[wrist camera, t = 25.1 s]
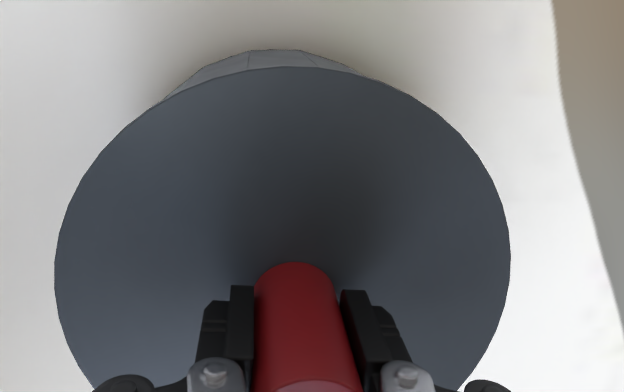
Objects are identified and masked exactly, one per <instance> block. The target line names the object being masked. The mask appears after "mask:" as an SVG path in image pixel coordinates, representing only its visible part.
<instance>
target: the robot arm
mask: <svg viewBox="0 0 624 392" xmlns="http://www.w3.org/2000/svg"><path fill="white" fill-rule="evenodd" d="M339 307H340V311H341V314H342V318H343V321H344V325H345V328H346V332H347V335H348V339H349V342H350V346H351V349H352V353H353V356H354V360H355V363H356V367H357V370H358V374H359V377H360V381H361V385H362V388H363V392H459V391H455V390H450V389H446V388H443V387H440V386H437V385H435V384H433V380H432V378H431V376H430V374H429V373H428V372H427V371H426V370H425V369H424V368H422V367H421V366H419V365H417V364H415V363H413V361H412V359H411V357H410V355H409V353H408V350H407V348H406V346H405V344H404V341H403V339H402V337H400V333H399V330H398V328H396V324H395V321H394V319H393V317H392V315H391V314H390V313H389V312H387V311H386V310H385V309H384V308H383V307H382V306H372V305H371V302H370V300H369V297H368V295H367V292H366V291H365V290H352V289H342V291H341V294H340V301H339ZM253 359H254V286H249V285H231V290H230V301H220V300H212V301H211V303H210V304H209V305H208V306H207V307H206V308H205V309H204V313H203V318H202V324H201V330H200V335H199V341H198V347H197V352H196V358H195V364H193V365H192V366H191V367H190V369H189V370H188V373H187V376H186V377H184V378H183V379H181V380H179V381H177V382H175V383H172V384H169V385H165V386H161V387H156V388H154V385H153V383H152V382H151V381H150V380H149V379H147V378H145V377H143V376H140V375H135V374H126V375H119V376H116V377H113V378H110V379H108V380H106V381H105V382H103V383H102V384H100V385H99V386H98V387H97V388H96V389H95V390H93V391H92V392H250V388H251V385H252V372H253ZM464 392H511V391H510V390H508V389H507V388H505V387H504V386H502V385H500V384H498V383H495V382H492V381H488V380H474V381H471V382H469V383H468V384H467V385H466V386H465V389H464Z"/></svg>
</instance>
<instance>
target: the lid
mask: <svg viewBox="0 0 624 392" xmlns="http://www.w3.org/2000/svg"><path fill="white" fill-rule="evenodd" d="M510 261H511V253H510V242H509V231H508V226H507V222H506V218H505V214H504V210H503V205H502V203H501V200H500V198H499V195H498V193H497V190H496V188H495V185H494V183H493V180H492V178H491V177H490V175H489V173H488V172H487V170H486V168H485V167H484V165H483V163H482V162H481V160H480V158H479V157H478V155H477V154H476V153H475V152H474V150H473V149H472V148H471V147H470V145H469V144H468V143H467V142H466V141H465V139H464V138H463V137H462V136H461V135H460V133H459V132H457V131H456V130H455V129H454V128H453V127H452V126H451V125H450V124H449V123H447V122H446V121H445V120H444V119H443V118H442V117H441V116H440V115H439V114H437V113H436V112H434V111H433V110H431V109H430V108H428V107H427V106H425V105H424V104H422V103H421V102H419V101H418V100H416V99H415V98H413V97H412V96H410V95H408V94H406V93H404V92H402V91H400V90H398V89H396V88H394V87H391V86H389V85H387V84H385V83H383V82H381V81H378V80H375V79H372V78H369V77H366V76H362V75H359V74H356V73H353V72H350V71H345V70H339V69H333V68H327V67H321V66H311V65H274V66H264V67H255V68H247V69H243V70H238V71H234V72H230V73H226V74H222V75H218V76H214V77H212V78H209V79H206V80H204V81H201V82H199V83H196V84H194V85H191V86H189V87H186V88H184V89H182V90H180V91H178V92H176V93H174V94H173V95H171V96H169V97H167V98H166V99H164V100H162V101H160V102H158V103H157V104H155V105H153V106H152V107H151V108H149V109H148V110H147V111H145V112H144V113H143V114H141V115H140V116H139V117H138V118H136V119H135V120H134V121H132V122H131V123H130V124H128V125H127V126H126V127H125V128H124V129H123V130H122V131H121V132H120V133H119V134H118V135H117V136H116V137H115V138H114V139H113V140H112V141H111V142H110V143H109V144H108V145H107V146H106V147H105V148H104V149H103V150H102V151H101V152H100V154H99V155H98V157H97V158H96V159H95V161H94V162H93V163H92V165H91V166H90V168H89V169H88V170H87V172H86V173H85V175H84V176H83V177H82V179H81V181H80V183H79V185H78V187H77V189H76V191H75V193H74V195H73V197H72V199H71V201H70V203H69V205H68V207H67V211H66V214H65V217H64V220H63V223H62V226H61V229H60V232H59V237H58V243H57V249H56V255H55V269H54V290H55V296H56V303H57V309H58V315H59V319H60V323H61V326H62V329H63V332H64V335H65V338H66V341H67V344H68V346H69V348H70V350H71V352H72V354H73V356H74V358H75V360H76V362H77V364H78V366H79V368H80V369H81V371H82V372H83V373H84V375H85V376H86V378H87V379H88V381H89V382H90V384H91V385H92V387H93V388H94V389H96V388H97V387H98V386H99V385H100V384H102V383H103V382H105V381H106V380H108V379H110V378H113V377H116V376H119V375H126V374H135V375H140V376H143V377H145V378H147V379H149V380H150V381H151V382H152V383H153V385H154V388H156V387H161V386H165V385H169V384H172V383H175V382H177V381H179V380H181V379H183V378H184V377H186V376H187V373H188V370H189V369H190V367H191V366H192V365H193V364H195V358H196V352H197V347H198V341H199V335H200V330H201V324H202V318H203V313H204V309H205V308H206V307H207V306H208V305H209V304H210V303H211V301H212V300H220V301H230V290H231V285H249V286H254V359H253V372H252V385H251V388H250V392H363V388H362V385H361V381H360V377H359V374H358V370H357V367H356V363H355V360H354V356H353V353H352V349H351V346H350V342H349V339H348V335H347V332H346V328H345V325H344V321H343V318H342V314H341V311H340V307H339V301H340V294H341V291H342V289H352V290H365V291H366V292H367V295H368V297H369V300H370V302H371V305H372V306H382V307H383V308H384V309H385V310H386V311H387V312H389V313H390V314H391V315H392V317H393V319H394V321H395V324H396V328H398V330H399V333H400V337H402V339H403V341H404V344H405V346H406V348H407V350H408V353H409V355H410V357H411V359H412V361H413V363H415V364H417V365H419V366H421V367H422V368H424V369H425V370H426V371H427V372H428V373H429V374H430V376H431V378H432V380H433V384H435V385H437V386H440V387H443V388H446V389H450V390H455V391H457V390H458V389H459V388H460V386H461V385H462V384H463V383H464V382H465V380H466V379H467V378H468V377H469V376H470V374H471V373H472V372H473V370H474V369H475V367H476V366H477V364H478V363H479V361H480V360H481V358H482V356H483V355H484V353H485V352H486V350H487V348H488V346H489V344H490V342H491V340H492V338H493V336H494V334H495V332H496V330H497V327H498V324H499V321H500V318H501V315H502V312H503V309H504V306H505V301H506V296H507V291H508V286H509V279H510Z"/></svg>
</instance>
